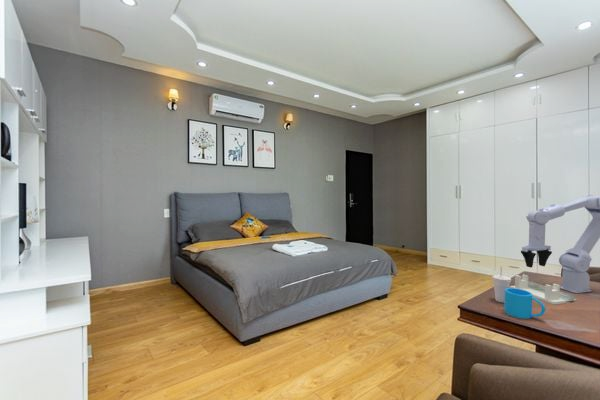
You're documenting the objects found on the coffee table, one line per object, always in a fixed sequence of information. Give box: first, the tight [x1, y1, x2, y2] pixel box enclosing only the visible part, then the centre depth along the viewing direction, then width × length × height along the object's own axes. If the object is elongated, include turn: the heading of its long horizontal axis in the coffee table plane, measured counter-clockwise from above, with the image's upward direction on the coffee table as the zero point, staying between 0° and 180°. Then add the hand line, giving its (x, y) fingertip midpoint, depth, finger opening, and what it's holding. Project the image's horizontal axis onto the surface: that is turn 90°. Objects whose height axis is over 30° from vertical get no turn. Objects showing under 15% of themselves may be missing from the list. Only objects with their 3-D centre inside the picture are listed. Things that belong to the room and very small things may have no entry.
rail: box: [528, 280, 575, 302], centre depth 128 cm, size 2×18×2 cm, turn 13°
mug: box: [503, 287, 546, 319], centre depth 106 cm, size 12×8×8 cm
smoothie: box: [492, 266, 512, 303], centre depth 120 cm, size 6×6×14 cm
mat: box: [528, 287, 578, 303], centre depth 128 cm, size 7×17×1 cm, turn 13°
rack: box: [509, 273, 567, 305], centre depth 126 cm, size 6×19×7 cm, turn 13°
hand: (535, 266), depth 134 cm, fingers open, 7 cm apart
